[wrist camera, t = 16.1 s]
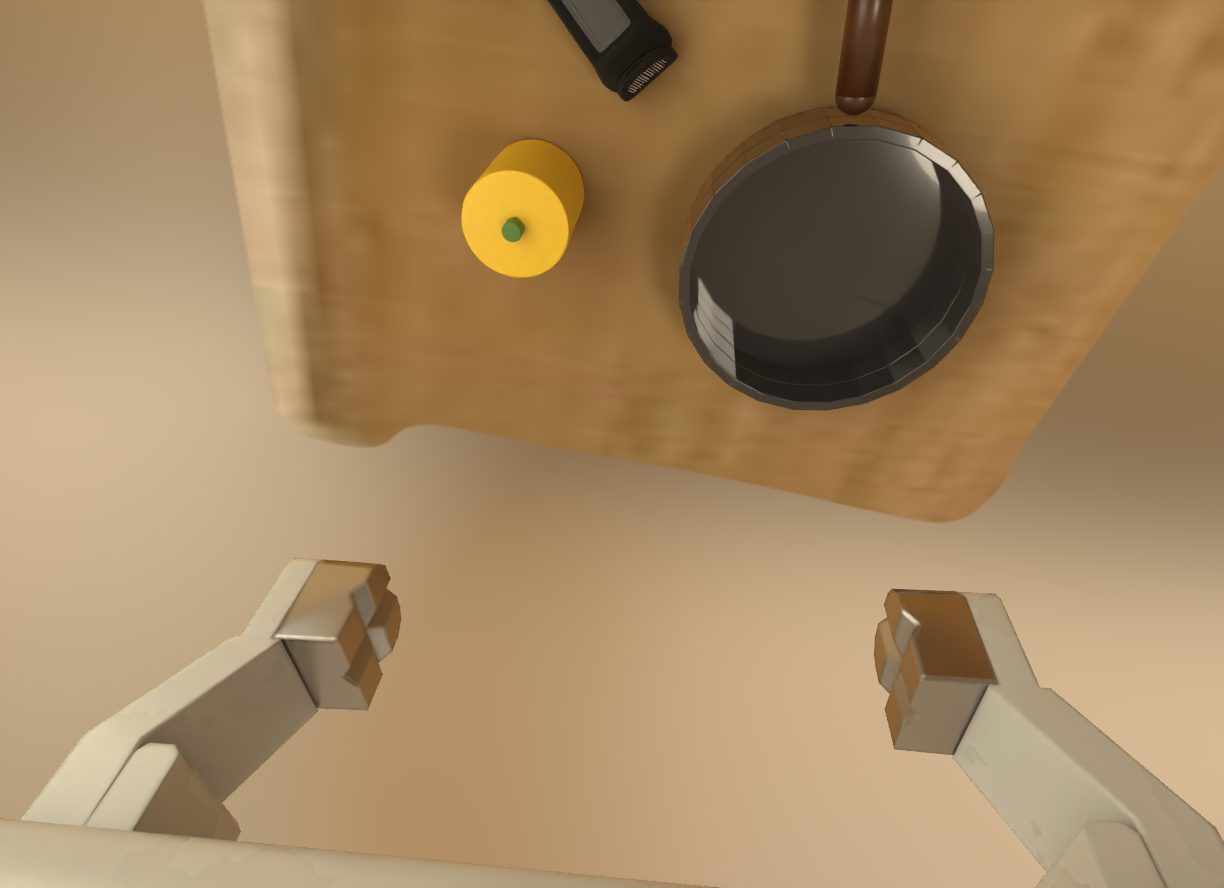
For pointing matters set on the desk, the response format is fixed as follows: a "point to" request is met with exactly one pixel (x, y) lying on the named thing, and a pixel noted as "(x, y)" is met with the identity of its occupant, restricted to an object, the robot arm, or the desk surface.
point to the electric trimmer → (618, 41)
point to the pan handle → (862, 54)
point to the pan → (833, 259)
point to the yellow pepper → (523, 209)
